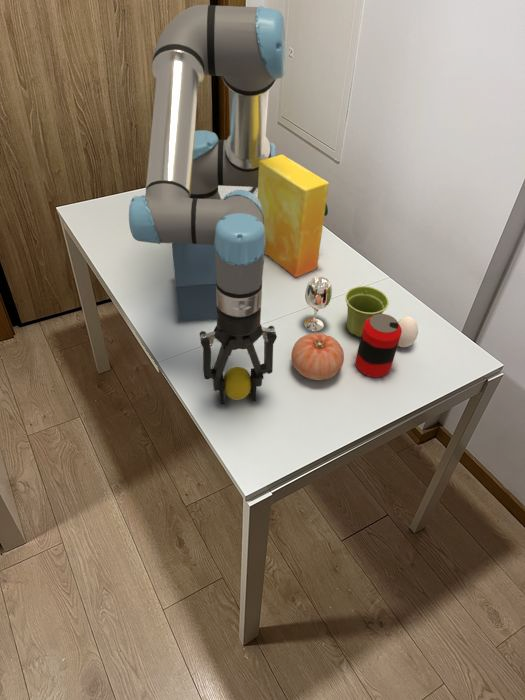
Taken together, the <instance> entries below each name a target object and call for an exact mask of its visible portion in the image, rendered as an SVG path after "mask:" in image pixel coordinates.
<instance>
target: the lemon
mask: <svg viewBox="0 0 525 700" xmlns="http://www.w3.org/2000/svg"><path fill="white" fill-rule="evenodd" d="M250 376H251V373H249V371H248V369H246V368H244V367H243V366H232V367H230V368H229V369H227V371H226V372H225V374H224V375H223V377H224V394H225V395H226V396H227V397H228V398H230V399H232V400H235V401H239V400H243V399H245V398H246V397H248V395H249V394H250V390H251V386H252V381H251V377H250Z"/></svg>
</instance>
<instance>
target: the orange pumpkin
mask: <svg viewBox="0 0 525 700" xmlns="http://www.w3.org/2000/svg"><path fill="white" fill-rule="evenodd" d="M344 353H345V352H344V350H343V347H342V346H341V343H339V342H338V340H336V339H335V338H334V337H333V336H331V335H327V334H326V333H323V332H322V333H320V332H313V333H308V334H305V335H303V336H302V337H301V336H300V337H299V339H297V340H296V342H295V343H294V345H293V347H292V348H291V355H290V356H291V357H290V358H291V363H292V365H293V367H294V368H295V370H296V371H297V372H298V373H299V374H300V375H301V376H303V377H305V378H307V379H309V380H314V381H322V380H323V381H324V380H327V379H330V378H332V377H334V376H336V375H337V374H338V373H339V372H340V370H341V369H342V368H343V365H344V362H345V354H344Z"/></svg>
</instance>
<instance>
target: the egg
mask: <svg viewBox="0 0 525 700" xmlns="http://www.w3.org/2000/svg"><path fill="white" fill-rule="evenodd" d="M397 322H398V324H399V325H400V327H401V329H402V333H401V336H400V340H399V343H398V346H397V347H400V348H408V347H410V346H411V345H413V344H414V343H415V341H416V340H417V338H418V334H419V327H418V324H417V323H418V322H417V321H416V320H415V319H414V318H413V317H411V316H404V317H401V318H400V319H398V320H397Z"/></svg>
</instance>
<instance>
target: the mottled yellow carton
mask: <svg viewBox="0 0 525 700" xmlns="http://www.w3.org/2000/svg"><path fill="white" fill-rule="evenodd" d="M329 185H330V183H329V181H327V180H326V179H324V178H322V177H321V176H319V175H317V174H315V173H313V172H312V171H311V170H309V169H308V168H306V167H304V166H302V165H301V164H299V163H297V162H295V161H294V160H292V159H291V158H289V157H287V156H286V155H284V154H279V155H275V157H272V158H268V159H264V160H261V161H259V176H258V188H257V198H258V199H259V201H260V203H261V206H262V212H263V215H264V229H265V251H264V255H267V256H268V257H269V258H270V259H271V260H273V261H274V262H275V263H277V264H278V265H279V266H280V267H281V268H283V269H284V270H286V271H287V272H288V273H289V274H291V275H292V276H293V277H294V278H298V277H300V276H303V275H305V274H307V273H309V272H312V271H314V270H317V269H318V263H319V256H320V249H321V240H322V236H323V235H322V234H323V228H324V219H325V217H326V216H327V215H328V214H329V210H328V209H329V208H328V204H327V199H328V192H329V187H330V186H329Z"/></svg>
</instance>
